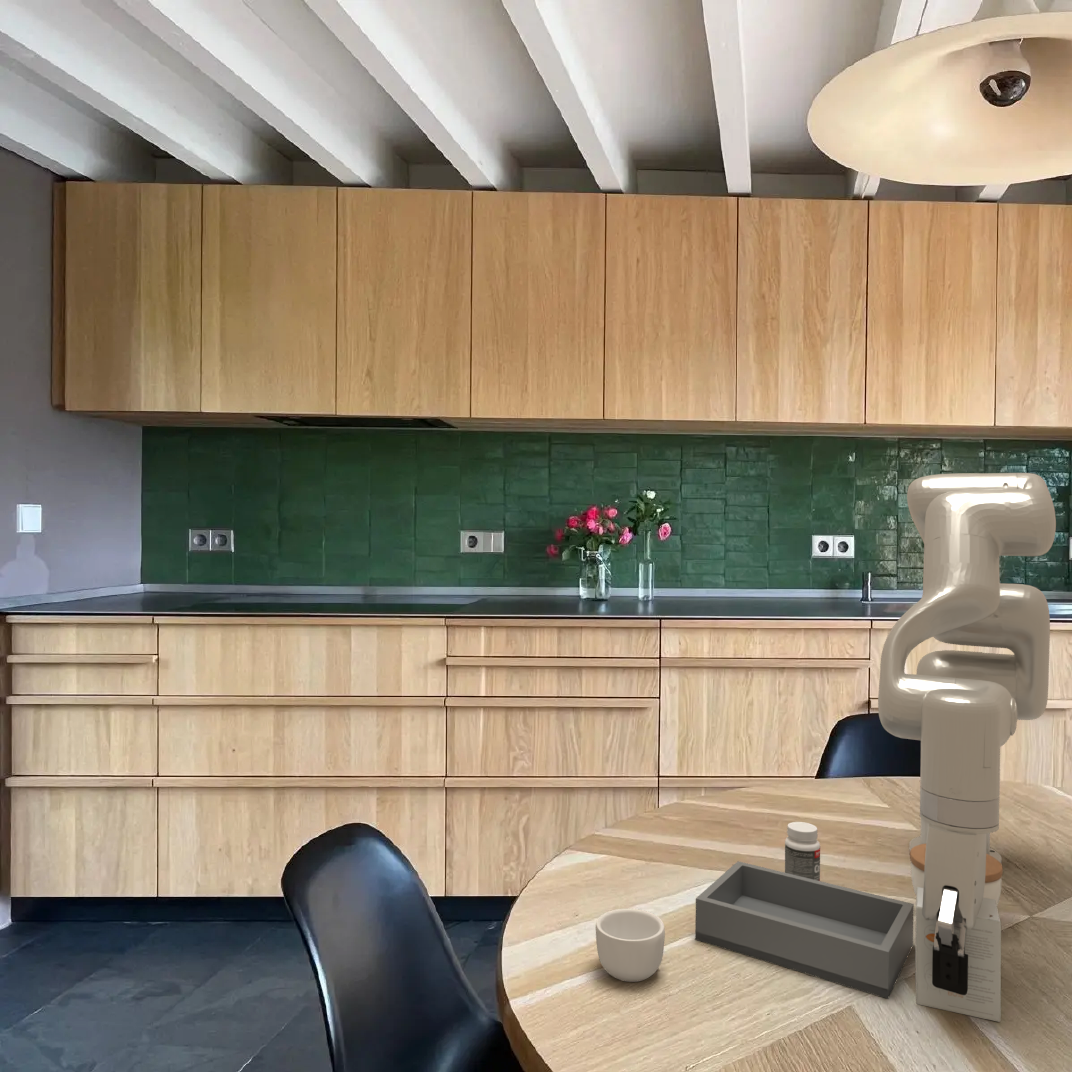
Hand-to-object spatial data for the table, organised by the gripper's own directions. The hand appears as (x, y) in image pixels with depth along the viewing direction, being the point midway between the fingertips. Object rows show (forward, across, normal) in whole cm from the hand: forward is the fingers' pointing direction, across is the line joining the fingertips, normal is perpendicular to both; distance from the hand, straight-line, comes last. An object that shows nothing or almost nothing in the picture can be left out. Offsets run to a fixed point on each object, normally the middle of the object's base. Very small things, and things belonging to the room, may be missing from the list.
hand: (956, 970), depth 88 cm
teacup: (+4, +14, -31) cm, 34 cm away
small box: (+4, 0, 0) cm, 4 cm away
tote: (+3, -3, -17) cm, 18 cm away
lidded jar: (+3, -21, -3) cm, 22 cm away
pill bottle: (+3, -19, -22) cm, 29 cm away
